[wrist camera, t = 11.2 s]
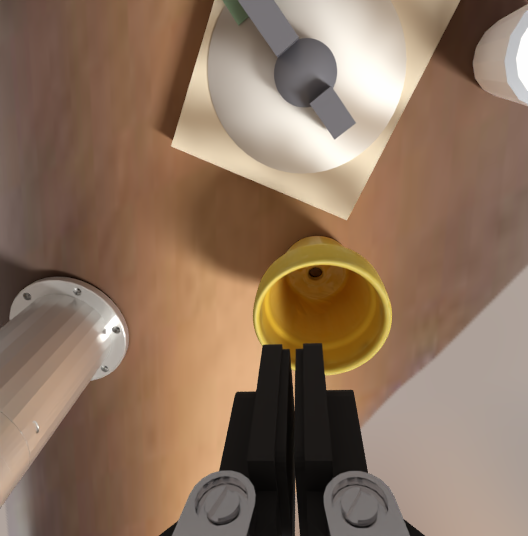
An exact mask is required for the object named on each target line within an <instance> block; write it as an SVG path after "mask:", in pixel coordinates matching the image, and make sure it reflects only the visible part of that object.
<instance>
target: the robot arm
mask: <svg viewBox="0 0 528 536" xmlns="http://www.w3.org/2000/svg"><path fill="white" fill-rule="evenodd" d="M9 320H10V321H9V322H8V323H6V324H5V325H4V326H3V327H2V328H0V508H1V507H2V505H3V504H4V502H5V501H6V499H7V498H8V496H9V495H10V493H11V492H12V491H13V489H14V488H15V486H16V485H17V483H18V482H19V481H20V479H21V478H22V476H23V475H24V474H25V472H26V471H27V470H28V468H29V467H30V465H31V464H32V463H33V461H34V460H35V458H36V457H37V455H38V454H39V453H40V451H41V450H42V448H43V447H44V446H45V444H46V443H47V441H48V440H49V438H50V437H51V436H52V434H53V433H54V431H55V430H56V429H57V427H58V426H59V424H60V423H61V421H62V420H63V419H64V417H65V416H66V414H67V413H68V411H69V410H70V409H71V407H72V406H73V404H74V403H75V402H76V400H77V399H78V397H79V396H80V394H81V393H82V392H83V390H84V389H85V387H86V386H87V385H88V383H89V382H90V381H91V380H95V379H100V378H102V377H104V376H106V375H108V374H110V373H111V372H112V371H114V370H115V369H116V368H117V367H118V365H119V364H120V363H121V361H122V360H123V358H124V356H125V355H126V352H127V349H128V344H129V334H128V327H127V325H126V322H125V319H124V317H123V315H122V314H121V312H120V310H119V308H118V307H117V306H116V305H115V304H114V303H113V301H112V300H111V299H110V298H109V297H107V296H106V295H105V294H104V293H103V292H102V291H100V290H98V289H97V288H95V287H94V286H92V285H90V284H88V283H85V282H83V281H81V280H77V279H73V278H69V277H47V278H43V279H40V280H37V281H35V282H33V283H32V284H30V285H28V286H27V287H26V288H24V289H23V290H22V291H21V292H20V293H19V294H18V295H17V296H16V298H15V299H14V301H13V303H12V306H11V309H10V315H9ZM295 478H296V490H297V502H298V515H299V528H300V536H425V535H423V534H422V533H421V532H420V531H418V530H417V529H416V528H414V527H413V526H411V525H410V524H409V523H408V522H407V521H405V520H404V519H403V517H402V514H401V512H400V509H399V507H398V504H397V502H396V499H395V497H394V495H393V493H392V492H391V490H390V488H389V487H388V486H387V485H386V484H385V483H384V482H383V481H382V480H381V479H379V478H377V477H375V476H373V475H372V474H369V473H368V471H367V465H366V459H365V453H364V448H363V442H362V436H361V431H360V425H359V419H358V414H357V408H356V402H355V397H354V392H353V390H326V382H325V371H324V359H323V348H322V343H303V349H296V357H295V410H294V397H293V383H292V370H291V357H290V349H283V346H282V344H268V345H263V348H262V355H261V362H260V369H259V376H258V383H257V390H256V392H237V393H236V394H235V398H234V403H233V407H232V412H231V417H230V422H229V427H228V432H227V436H226V441H225V446H224V451H223V456H222V461H221V465H220V470H219V472H215V473H212V474H210V475H208V476H206V477H204V478H203V479H202V480H201V481H199V482H198V483H197V484H196V485H195V487H194V488H193V490H192V492H191V493H190V495H189V497H188V500H187V502H186V504H185V507H184V509H183V511H182V514H181V516H180V518H179V521H177V522H176V523H175V524H174V525H172V526H171V527H170V528H168V529H167V530H166V531H164V532H163V533H162V534H160V535H159V536H295Z"/></svg>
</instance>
